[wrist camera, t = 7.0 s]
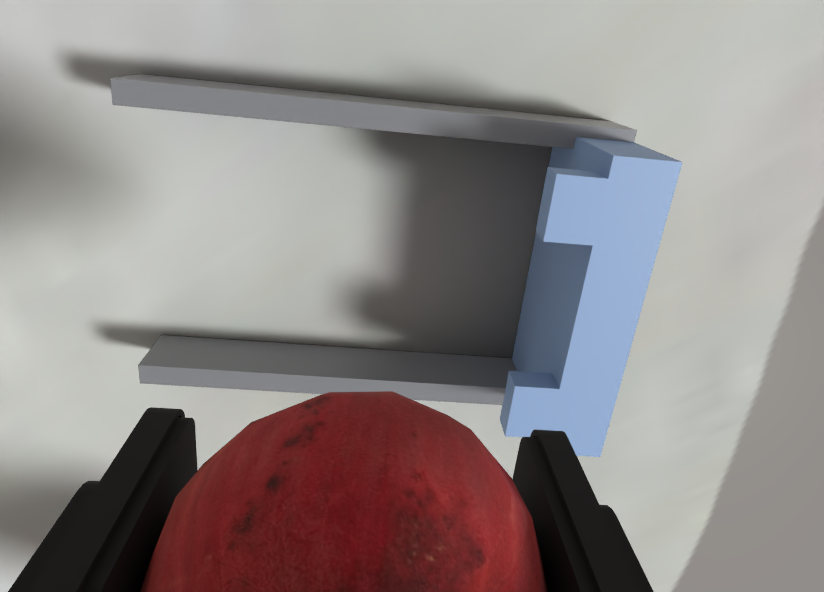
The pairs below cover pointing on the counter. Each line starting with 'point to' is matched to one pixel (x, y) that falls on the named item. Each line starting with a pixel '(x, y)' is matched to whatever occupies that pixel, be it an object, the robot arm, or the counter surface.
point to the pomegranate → (349, 507)
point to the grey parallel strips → (328, 364)
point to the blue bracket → (586, 287)
